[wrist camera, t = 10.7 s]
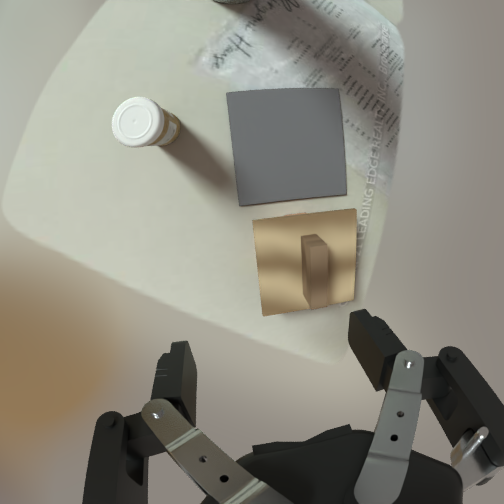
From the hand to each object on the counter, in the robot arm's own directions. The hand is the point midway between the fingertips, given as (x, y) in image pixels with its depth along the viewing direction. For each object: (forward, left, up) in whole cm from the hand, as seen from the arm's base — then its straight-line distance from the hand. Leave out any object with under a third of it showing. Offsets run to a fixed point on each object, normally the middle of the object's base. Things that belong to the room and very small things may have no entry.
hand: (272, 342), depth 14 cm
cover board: (+7, +8, -22) cm, 24 cm away
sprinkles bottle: (-12, -8, -27) cm, 31 cm away
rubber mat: (-8, +8, -27) cm, 29 cm away
